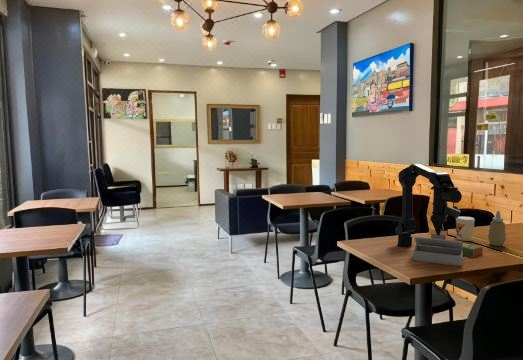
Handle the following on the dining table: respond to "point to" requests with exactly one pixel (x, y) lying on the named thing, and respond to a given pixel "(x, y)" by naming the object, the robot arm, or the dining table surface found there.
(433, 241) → the flap
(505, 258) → the dining table surface
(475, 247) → the carton
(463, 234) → the coffee cup
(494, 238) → the squeeze bottle
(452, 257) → the box
